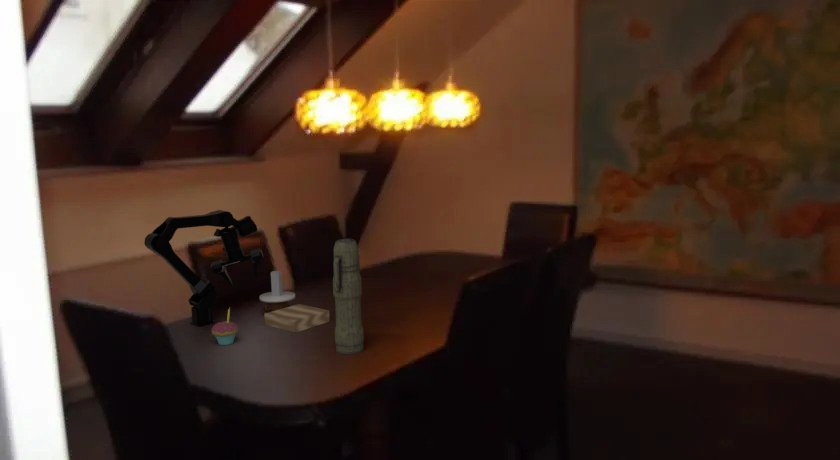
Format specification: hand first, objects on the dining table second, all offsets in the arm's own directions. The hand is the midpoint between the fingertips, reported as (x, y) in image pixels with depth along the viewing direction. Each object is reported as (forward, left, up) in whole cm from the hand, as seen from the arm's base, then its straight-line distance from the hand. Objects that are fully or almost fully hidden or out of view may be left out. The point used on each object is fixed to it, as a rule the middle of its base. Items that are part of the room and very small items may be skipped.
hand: (244, 281), depth 274 cm
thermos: (-7, -61, -12) cm, 63 cm away
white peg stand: (+7, -10, -6) cm, 14 cm away
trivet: (+3, -25, -12) cm, 28 cm away
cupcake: (-26, -23, -13) cm, 37 cm away
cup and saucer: (+8, -9, -13) cm, 17 cm away
